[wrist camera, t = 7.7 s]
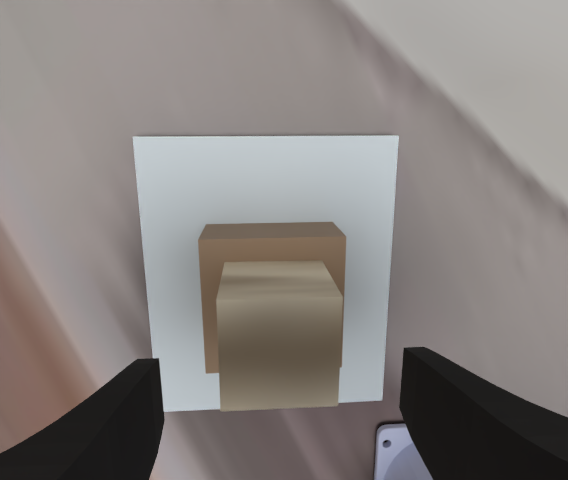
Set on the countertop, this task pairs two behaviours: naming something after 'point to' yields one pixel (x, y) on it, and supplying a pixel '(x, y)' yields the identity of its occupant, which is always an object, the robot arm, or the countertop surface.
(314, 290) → the maple block
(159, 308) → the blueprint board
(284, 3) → the countertop surface
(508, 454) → the robot arm
